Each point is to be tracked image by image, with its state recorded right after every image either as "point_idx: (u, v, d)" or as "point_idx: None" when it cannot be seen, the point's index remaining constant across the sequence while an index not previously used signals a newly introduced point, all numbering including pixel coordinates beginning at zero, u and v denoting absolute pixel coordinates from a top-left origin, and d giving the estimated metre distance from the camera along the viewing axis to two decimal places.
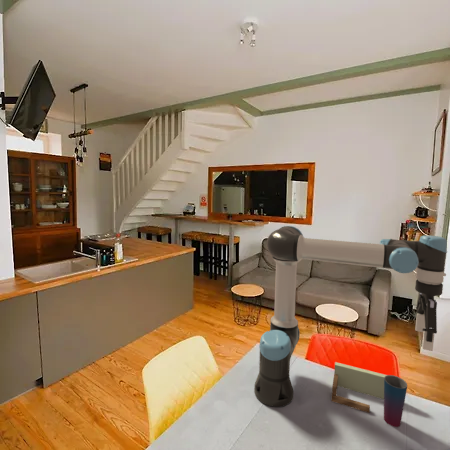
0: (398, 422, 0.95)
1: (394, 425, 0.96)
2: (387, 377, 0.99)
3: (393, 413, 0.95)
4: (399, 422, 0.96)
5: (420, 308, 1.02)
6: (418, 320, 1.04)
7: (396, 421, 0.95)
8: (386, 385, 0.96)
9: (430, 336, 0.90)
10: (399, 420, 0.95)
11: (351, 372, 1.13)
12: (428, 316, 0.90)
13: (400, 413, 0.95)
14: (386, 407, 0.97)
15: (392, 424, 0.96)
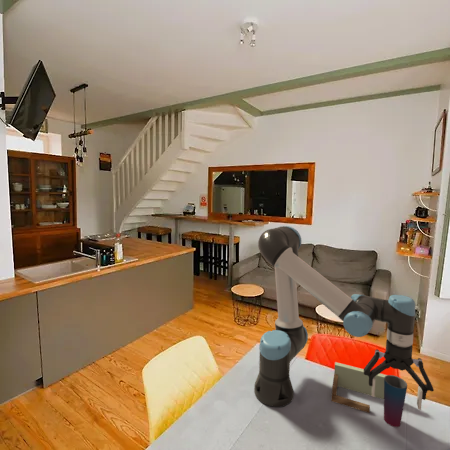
0: (398, 422, 0.95)
1: (394, 425, 0.96)
2: (387, 377, 0.99)
3: (393, 413, 0.95)
4: (399, 422, 0.96)
5: None
6: (418, 393, 0.94)
7: (396, 421, 0.95)
8: (386, 385, 0.96)
9: (369, 379, 1.00)
10: (399, 420, 0.95)
11: (351, 372, 1.13)
12: (370, 360, 1.00)
13: (400, 413, 0.95)
14: (386, 407, 0.97)
15: (392, 424, 0.96)
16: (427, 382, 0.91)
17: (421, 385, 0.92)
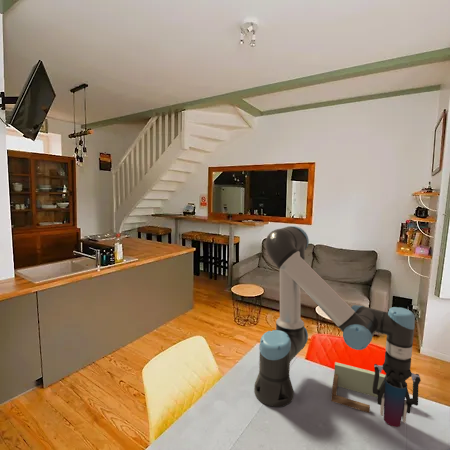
0: (398, 422, 0.95)
1: (394, 425, 0.96)
2: None
3: (393, 413, 0.95)
4: (399, 422, 0.96)
5: None
6: None
7: (396, 421, 0.95)
8: (386, 385, 0.96)
9: None
10: (399, 420, 0.95)
11: (351, 372, 1.13)
12: (374, 377, 1.00)
13: (400, 413, 0.95)
14: (386, 407, 0.97)
15: (392, 424, 0.96)
16: (415, 396, 0.93)
17: (408, 399, 0.94)
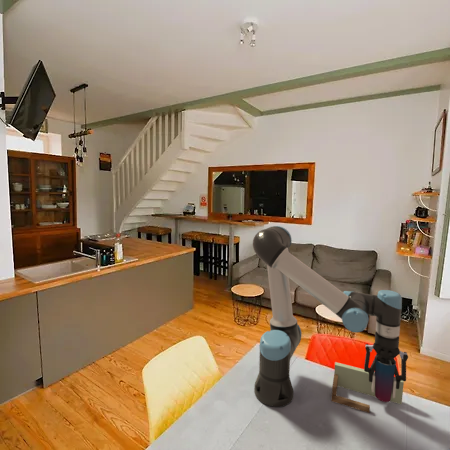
0: (388, 397, 1.02)
1: (384, 400, 1.02)
2: None
3: (383, 389, 1.02)
4: (389, 397, 1.02)
5: None
6: None
7: (386, 396, 1.02)
8: (376, 363, 1.03)
9: (369, 375, 1.06)
10: (389, 395, 1.02)
11: (351, 372, 1.13)
12: None
13: (390, 389, 1.01)
14: (377, 384, 1.03)
15: (382, 399, 1.02)
16: (403, 373, 1.00)
17: (397, 375, 1.01)
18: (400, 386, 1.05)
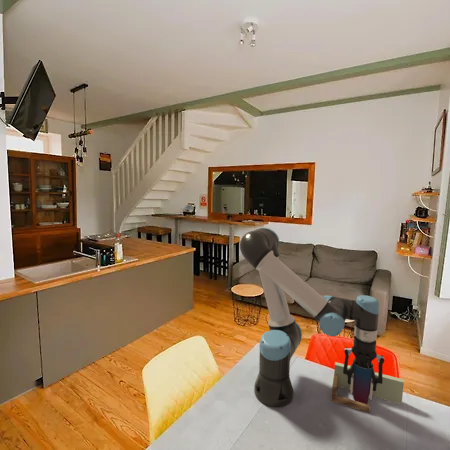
0: (365, 400, 1.06)
1: (362, 402, 1.06)
2: None
3: (361, 391, 1.05)
4: (366, 400, 1.06)
5: None
6: None
7: (363, 398, 1.05)
8: (355, 366, 1.06)
9: None
10: (366, 398, 1.06)
11: None
12: None
13: (367, 391, 1.05)
14: (355, 386, 1.07)
15: None
16: (380, 375, 1.03)
17: (374, 378, 1.04)
18: (400, 386, 1.05)
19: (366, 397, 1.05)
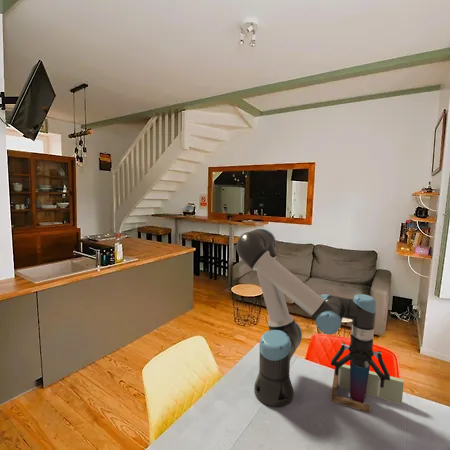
0: (362, 399, 1.06)
1: None
2: (353, 359, 1.10)
3: (357, 391, 1.06)
4: (363, 399, 1.06)
5: None
6: (377, 382, 1.06)
7: (360, 398, 1.06)
8: (351, 366, 1.06)
9: None
10: (363, 397, 1.06)
11: None
12: (337, 352, 1.11)
13: (364, 390, 1.05)
14: (352, 386, 1.07)
15: None
16: (385, 372, 1.02)
17: (379, 374, 1.03)
18: (400, 386, 1.05)
19: (363, 396, 1.06)
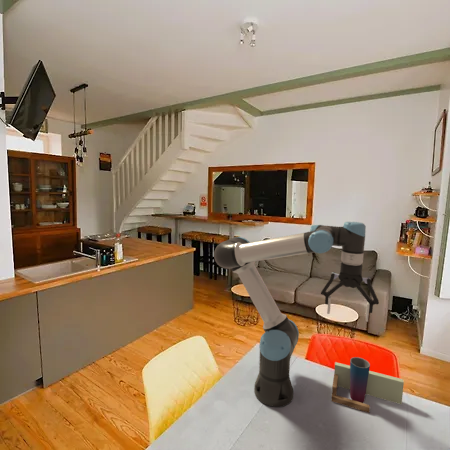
0: (362, 399, 1.06)
1: None
2: (353, 359, 1.10)
3: (357, 391, 1.06)
4: (363, 399, 1.06)
5: None
6: None
7: (360, 398, 1.06)
8: (351, 366, 1.06)
9: None
10: (363, 397, 1.06)
11: None
12: (327, 282, 1.12)
13: (364, 390, 1.05)
14: (352, 386, 1.07)
15: None
16: (373, 296, 1.03)
17: (368, 299, 1.04)
18: (400, 386, 1.05)
19: (363, 396, 1.06)
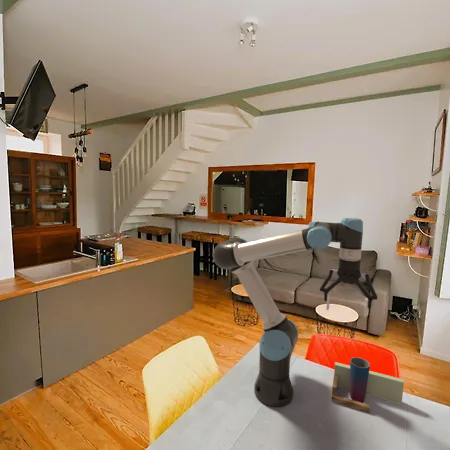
0: (362, 399, 1.06)
1: None
2: (353, 359, 1.10)
3: (357, 391, 1.06)
4: (363, 399, 1.06)
5: None
6: (365, 304, 1.07)
7: (360, 398, 1.06)
8: (351, 366, 1.06)
9: None
10: (363, 397, 1.06)
11: None
12: None
13: (364, 390, 1.05)
14: (352, 386, 1.07)
15: None
16: (372, 292, 1.04)
17: (367, 295, 1.04)
18: (400, 386, 1.05)
19: (363, 396, 1.06)
